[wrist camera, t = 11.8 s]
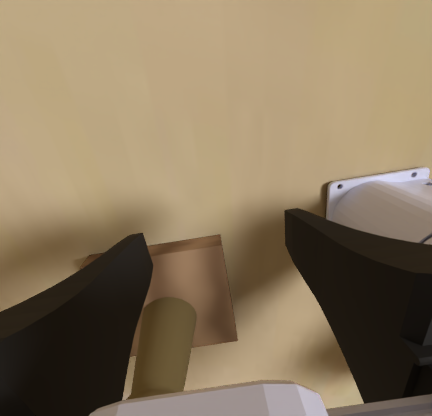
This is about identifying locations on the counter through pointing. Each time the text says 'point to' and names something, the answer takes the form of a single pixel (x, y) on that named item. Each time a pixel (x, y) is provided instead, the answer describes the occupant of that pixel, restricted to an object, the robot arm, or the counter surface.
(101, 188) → the counter surface
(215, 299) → the walnut stand
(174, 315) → the olive bottle
